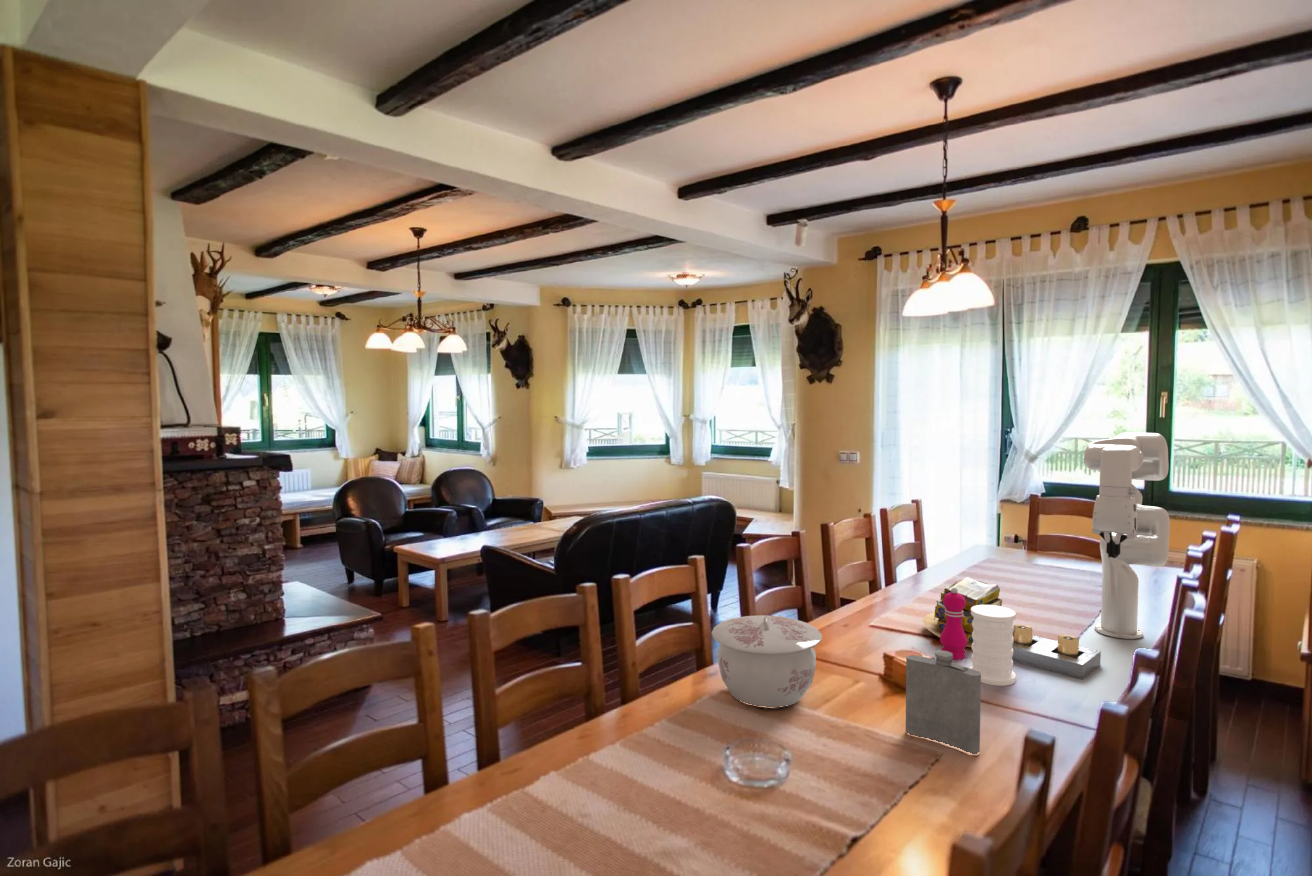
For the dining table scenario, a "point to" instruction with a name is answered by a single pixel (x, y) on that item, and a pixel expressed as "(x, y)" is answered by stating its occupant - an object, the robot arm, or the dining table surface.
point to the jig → (1051, 654)
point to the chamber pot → (767, 658)
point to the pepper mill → (954, 625)
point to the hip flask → (943, 701)
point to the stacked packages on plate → (973, 596)
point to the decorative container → (993, 644)
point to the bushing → (1068, 645)
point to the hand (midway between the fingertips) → (1113, 556)
